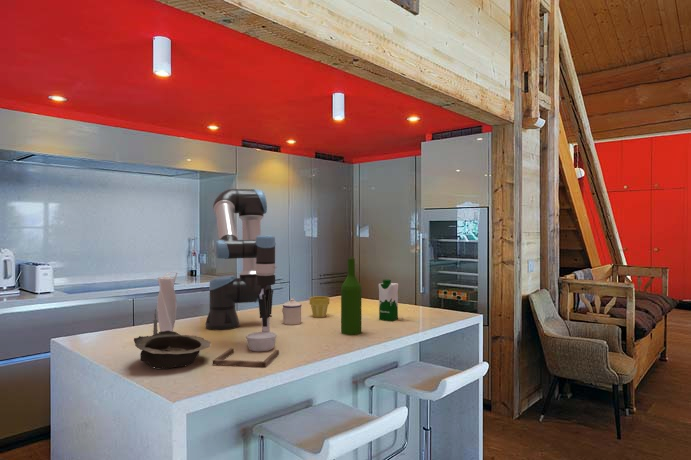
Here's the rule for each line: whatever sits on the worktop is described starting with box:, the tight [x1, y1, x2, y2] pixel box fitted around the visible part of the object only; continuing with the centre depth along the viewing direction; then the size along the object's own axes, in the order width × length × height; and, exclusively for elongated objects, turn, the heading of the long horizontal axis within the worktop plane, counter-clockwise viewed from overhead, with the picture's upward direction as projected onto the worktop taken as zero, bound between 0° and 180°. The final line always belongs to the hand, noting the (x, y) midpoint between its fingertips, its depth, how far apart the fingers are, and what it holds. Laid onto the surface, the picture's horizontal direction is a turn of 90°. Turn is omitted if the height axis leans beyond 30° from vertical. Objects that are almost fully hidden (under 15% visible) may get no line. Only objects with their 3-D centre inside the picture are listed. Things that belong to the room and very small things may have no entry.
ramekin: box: [245, 331, 277, 352], centre depth 170 cm, size 11×11×5 cm
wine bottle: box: [340, 257, 362, 336], centre depth 196 cm, size 9×9×32 cm
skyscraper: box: [152, 271, 178, 335], centre depth 184 cm, size 8×8×28 cm
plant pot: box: [308, 295, 330, 318], centre depth 232 cm, size 10×10×10 cm
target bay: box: [212, 347, 280, 368], centre depth 156 cm, size 18×15×2 cm
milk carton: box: [378, 279, 399, 322], centre depth 224 cm, size 9×9×20 cm
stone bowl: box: [133, 330, 211, 369], centre depth 153 cm, size 25×25×9 cm
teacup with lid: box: [281, 298, 302, 326], centre depth 217 cm, size 12×9×12 cm
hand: (265, 334), depth 176 cm, fingers closed
